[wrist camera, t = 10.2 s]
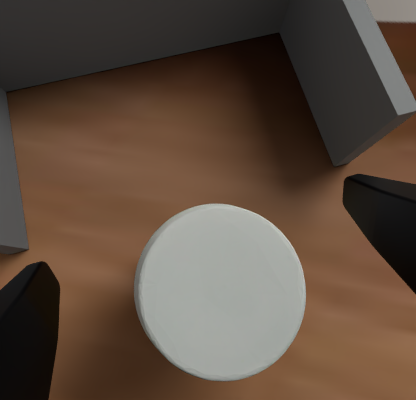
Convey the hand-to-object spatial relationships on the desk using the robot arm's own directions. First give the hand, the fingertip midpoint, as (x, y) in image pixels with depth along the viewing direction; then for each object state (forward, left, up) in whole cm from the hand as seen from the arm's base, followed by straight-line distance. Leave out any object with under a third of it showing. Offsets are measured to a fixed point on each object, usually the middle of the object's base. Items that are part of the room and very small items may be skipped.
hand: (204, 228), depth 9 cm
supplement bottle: (0, -2, -8) cm, 8 cm away
